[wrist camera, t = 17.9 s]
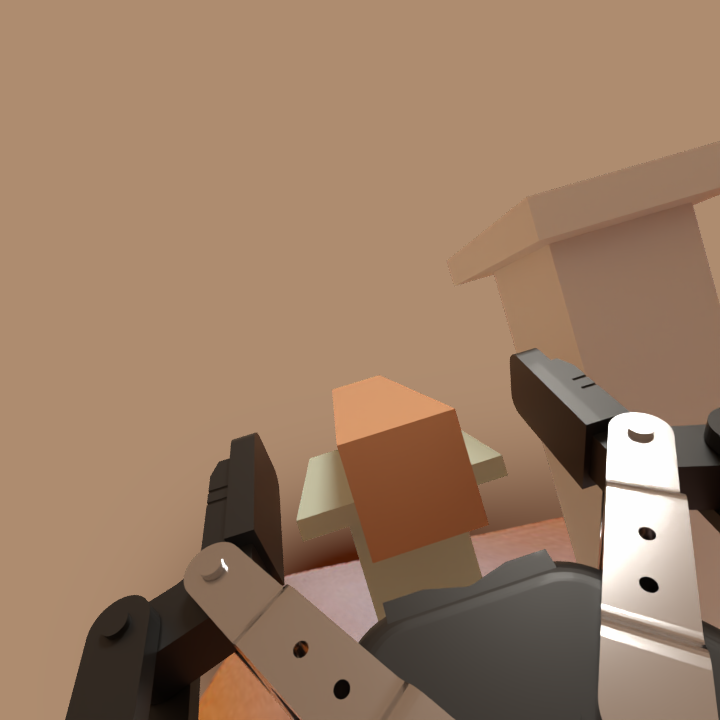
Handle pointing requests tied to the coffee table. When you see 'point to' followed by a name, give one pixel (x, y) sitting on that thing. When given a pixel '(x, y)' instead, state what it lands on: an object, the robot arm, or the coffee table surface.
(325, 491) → the short stand
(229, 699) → the coffee table surface
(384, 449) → the beam
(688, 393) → the tall stand
